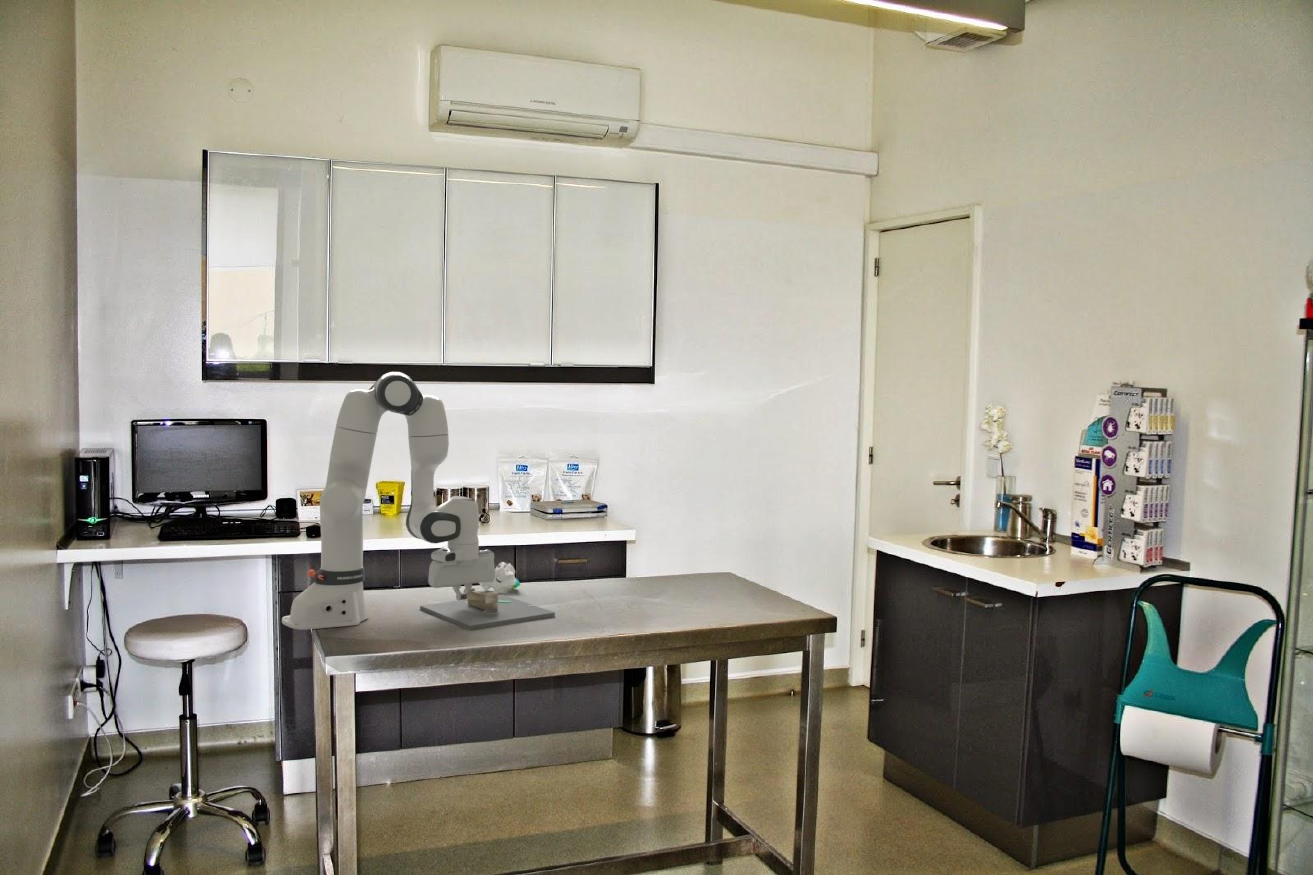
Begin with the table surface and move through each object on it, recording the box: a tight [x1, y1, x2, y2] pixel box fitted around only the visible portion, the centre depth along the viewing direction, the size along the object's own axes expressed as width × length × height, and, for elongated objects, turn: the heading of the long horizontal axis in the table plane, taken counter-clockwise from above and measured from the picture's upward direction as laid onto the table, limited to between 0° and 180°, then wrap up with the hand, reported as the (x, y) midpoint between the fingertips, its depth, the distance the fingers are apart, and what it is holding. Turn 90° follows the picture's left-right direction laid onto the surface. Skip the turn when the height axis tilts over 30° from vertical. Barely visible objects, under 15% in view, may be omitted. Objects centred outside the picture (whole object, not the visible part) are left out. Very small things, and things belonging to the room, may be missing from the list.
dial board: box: [419, 594, 556, 631], centre depth 289 cm, size 28×28×1 cm
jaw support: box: [478, 561, 521, 594], centre depth 321 cm, size 12×9×10 cm
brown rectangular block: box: [468, 587, 499, 613], centre depth 289 cm, size 4×14×5 cm, turn 41°
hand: (462, 599), depth 289 cm, fingers closed
